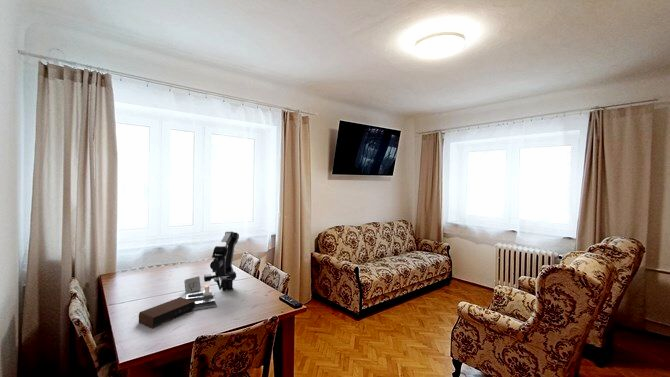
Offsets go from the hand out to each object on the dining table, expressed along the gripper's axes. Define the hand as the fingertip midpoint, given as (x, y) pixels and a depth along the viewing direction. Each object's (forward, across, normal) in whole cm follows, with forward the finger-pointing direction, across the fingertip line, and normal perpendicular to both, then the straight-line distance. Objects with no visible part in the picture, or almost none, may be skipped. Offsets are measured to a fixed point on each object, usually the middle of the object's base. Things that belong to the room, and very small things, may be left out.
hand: (220, 289), depth 181 cm
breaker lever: (+3, +8, 0) cm, 8 cm away
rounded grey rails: (+5, +11, +12) cm, 17 cm away
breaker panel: (+5, +12, 0) cm, 13 cm away
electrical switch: (+5, +16, -18) cm, 25 cm away
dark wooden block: (+6, +28, +16) cm, 32 cm away
